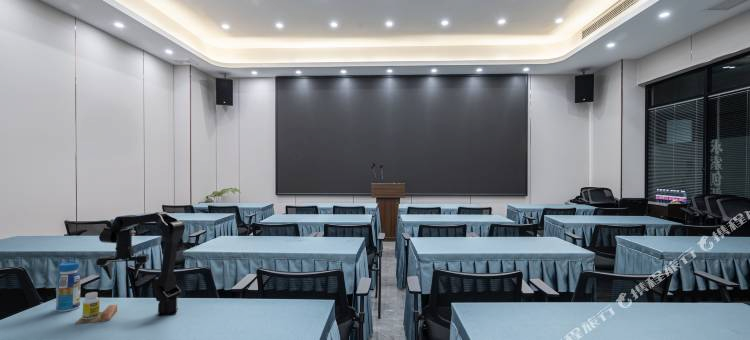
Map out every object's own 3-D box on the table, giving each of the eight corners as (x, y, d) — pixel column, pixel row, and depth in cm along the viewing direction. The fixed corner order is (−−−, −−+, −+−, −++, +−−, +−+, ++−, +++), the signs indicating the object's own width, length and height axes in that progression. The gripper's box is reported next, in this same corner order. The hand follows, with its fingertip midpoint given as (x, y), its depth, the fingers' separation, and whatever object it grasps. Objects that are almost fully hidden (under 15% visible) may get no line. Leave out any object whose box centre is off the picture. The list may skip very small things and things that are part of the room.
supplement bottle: (89, 320, 146) (90, 296, 146) (79, 319, 147) (79, 295, 147) (102, 315, 151) (103, 292, 151) (92, 313, 153) (92, 290, 153)
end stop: (117, 311, 157) (117, 304, 157) (109, 320, 147) (109, 313, 147) (85, 314, 153) (85, 307, 153) (74, 324, 143) (74, 316, 143)
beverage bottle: (51, 309, 157) (52, 264, 157) (74, 303, 165) (75, 259, 165) (60, 313, 153) (61, 266, 153) (84, 307, 161) (85, 262, 161)
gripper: (152, 239, 172) (151, 272, 172) (105, 241, 165) (104, 275, 165) (146, 244, 161) (145, 278, 161) (96, 246, 155) (95, 282, 155)
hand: (123, 278), depth 161 cm, fingers open, 9 cm apart
